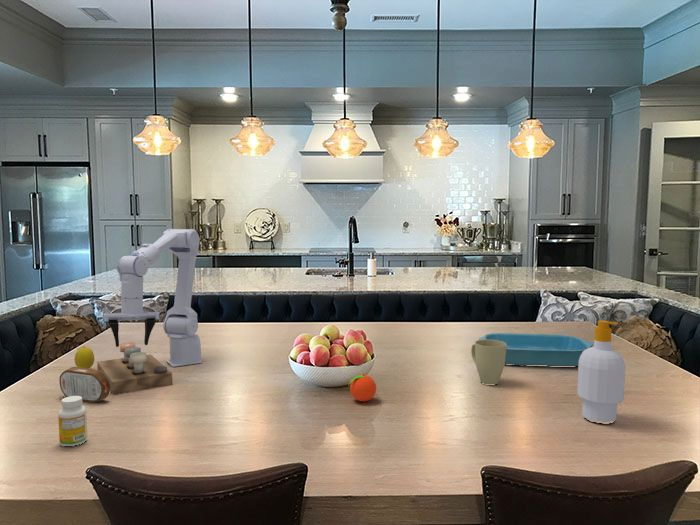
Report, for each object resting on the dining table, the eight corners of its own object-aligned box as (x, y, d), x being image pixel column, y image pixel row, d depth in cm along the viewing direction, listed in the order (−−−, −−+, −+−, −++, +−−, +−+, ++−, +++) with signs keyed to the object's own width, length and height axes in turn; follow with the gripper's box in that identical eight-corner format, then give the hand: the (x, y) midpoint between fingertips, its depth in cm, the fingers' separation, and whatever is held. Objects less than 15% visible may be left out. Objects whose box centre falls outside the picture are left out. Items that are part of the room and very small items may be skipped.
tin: (111, 401, 144) (110, 370, 144) (102, 405, 141) (101, 373, 141) (67, 394, 149) (66, 364, 148) (57, 398, 146) (56, 367, 145)
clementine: (354, 407, 140) (354, 380, 139) (341, 399, 146) (342, 373, 146) (381, 402, 144) (381, 376, 143) (368, 394, 150) (368, 369, 149)
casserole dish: (481, 367, 177) (481, 346, 177) (475, 350, 199) (476, 331, 199) (601, 373, 172) (602, 350, 171) (582, 354, 194) (583, 334, 193)
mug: (508, 380, 163) (509, 340, 162) (502, 389, 154) (503, 348, 153) (471, 375, 168) (472, 336, 167) (463, 384, 159) (464, 344, 158)
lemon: (87, 374, 167) (85, 348, 167) (71, 373, 169) (69, 347, 168) (98, 369, 173) (97, 344, 172) (83, 368, 174) (82, 343, 173)
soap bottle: (619, 431, 126) (625, 327, 123) (572, 422, 131) (576, 322, 129) (624, 417, 134) (629, 320, 132) (579, 408, 140) (584, 315, 138)
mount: (151, 364, 178) (150, 350, 177) (172, 384, 158) (171, 368, 158) (97, 372, 169) (97, 357, 169) (112, 394, 149) (112, 377, 149)
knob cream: (144, 368, 160) (144, 351, 160) (148, 372, 157) (148, 354, 156) (129, 371, 158) (128, 353, 157) (132, 375, 154) (131, 357, 154)
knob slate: (139, 363, 166) (138, 346, 166) (142, 366, 163) (142, 349, 162) (123, 365, 164) (123, 348, 163) (127, 369, 160) (126, 351, 160)
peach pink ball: (134, 358, 172) (133, 341, 172) (137, 361, 168) (136, 344, 168) (119, 360, 170) (118, 343, 169) (122, 363, 166) (121, 346, 165)
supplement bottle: (66, 437, 121) (64, 394, 120) (91, 436, 122) (89, 394, 121) (55, 447, 116) (53, 403, 115) (81, 447, 116) (79, 402, 115)
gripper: (105, 300, 149) (104, 349, 149) (161, 298, 155) (160, 346, 156) (103, 297, 155) (103, 345, 156) (157, 296, 162) (157, 341, 162)
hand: (131, 345), depth 156 cm, fingers open, 7 cm apart
